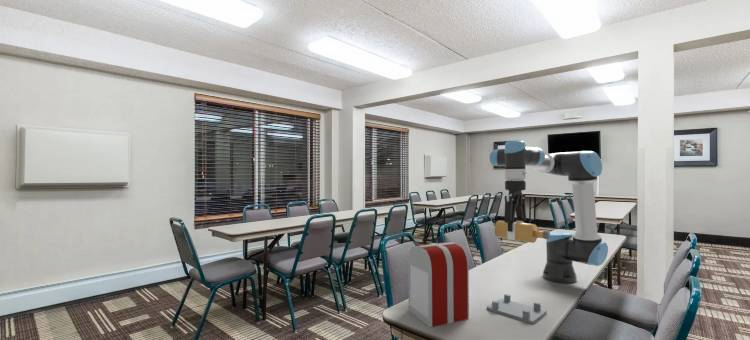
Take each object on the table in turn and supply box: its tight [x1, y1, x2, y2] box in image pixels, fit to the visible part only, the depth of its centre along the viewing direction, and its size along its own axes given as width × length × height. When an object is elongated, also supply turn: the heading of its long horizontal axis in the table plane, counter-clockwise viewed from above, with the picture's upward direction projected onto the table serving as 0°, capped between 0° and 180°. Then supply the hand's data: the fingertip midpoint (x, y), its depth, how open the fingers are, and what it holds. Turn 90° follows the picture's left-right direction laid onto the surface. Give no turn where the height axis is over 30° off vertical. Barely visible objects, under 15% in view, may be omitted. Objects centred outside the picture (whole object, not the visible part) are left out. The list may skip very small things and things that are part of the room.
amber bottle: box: [494, 220, 551, 244], centre depth 130 cm, size 19×7×7 cm, turn 44°
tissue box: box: [407, 241, 470, 328], centre depth 129 cm, size 17×18×27 cm
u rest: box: [486, 293, 548, 325], centre depth 131 cm, size 18×13×4 cm
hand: (515, 238), depth 131 cm, fingers closed on amber bottle, 7 cm apart
